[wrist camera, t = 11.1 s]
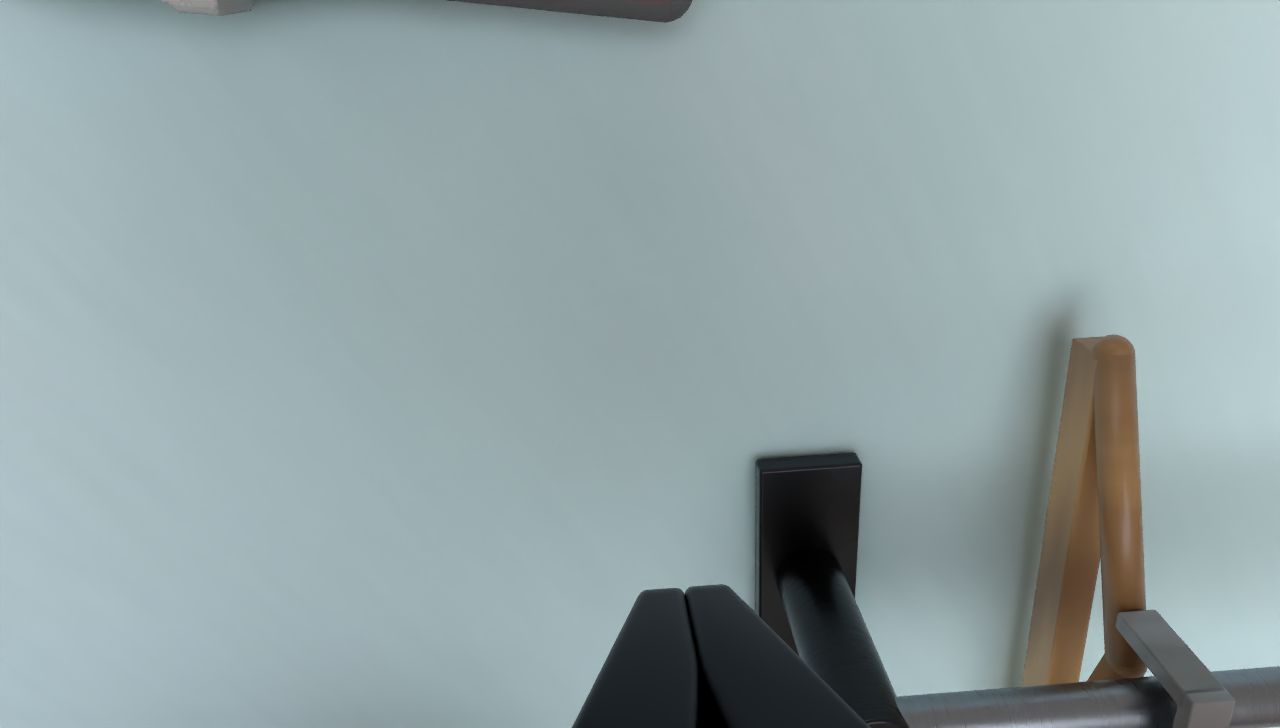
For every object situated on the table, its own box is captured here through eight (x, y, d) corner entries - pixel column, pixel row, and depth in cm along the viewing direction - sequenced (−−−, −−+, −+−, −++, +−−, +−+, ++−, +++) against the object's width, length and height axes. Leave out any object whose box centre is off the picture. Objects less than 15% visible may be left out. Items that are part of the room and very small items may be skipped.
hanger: (1037, 764, 25) (1162, 983, 20) (1008, 767, 25) (1125, 986, 20) (1110, 317, 20) (1303, 448, 15) (1073, 320, 20) (1253, 452, 15)
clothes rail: (1509, 601, 25) (1777, 787, 20) (754, 660, 25) (807, 871, 19) (1587, 400, 23) (1917, 545, 17) (755, 458, 22) (815, 629, 17)
